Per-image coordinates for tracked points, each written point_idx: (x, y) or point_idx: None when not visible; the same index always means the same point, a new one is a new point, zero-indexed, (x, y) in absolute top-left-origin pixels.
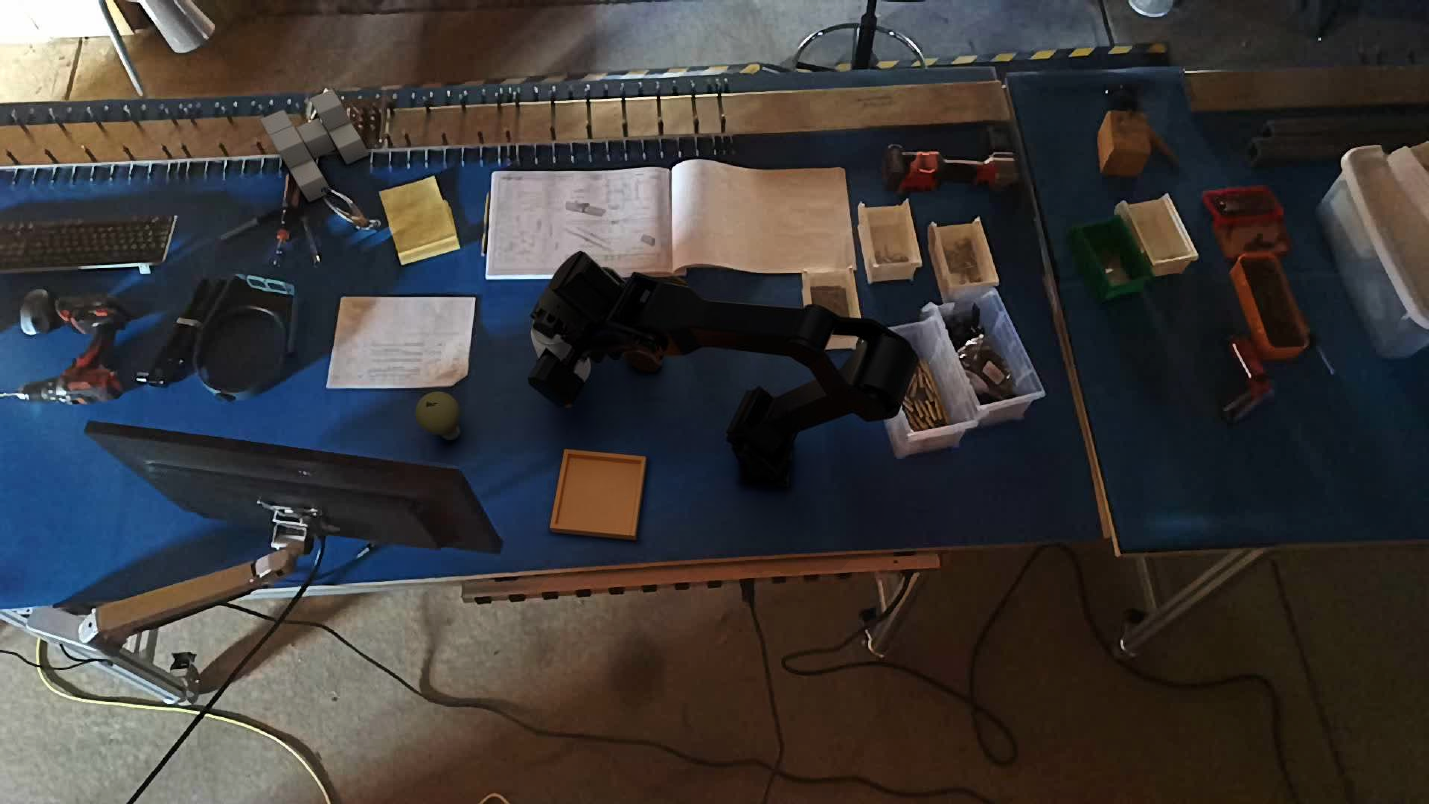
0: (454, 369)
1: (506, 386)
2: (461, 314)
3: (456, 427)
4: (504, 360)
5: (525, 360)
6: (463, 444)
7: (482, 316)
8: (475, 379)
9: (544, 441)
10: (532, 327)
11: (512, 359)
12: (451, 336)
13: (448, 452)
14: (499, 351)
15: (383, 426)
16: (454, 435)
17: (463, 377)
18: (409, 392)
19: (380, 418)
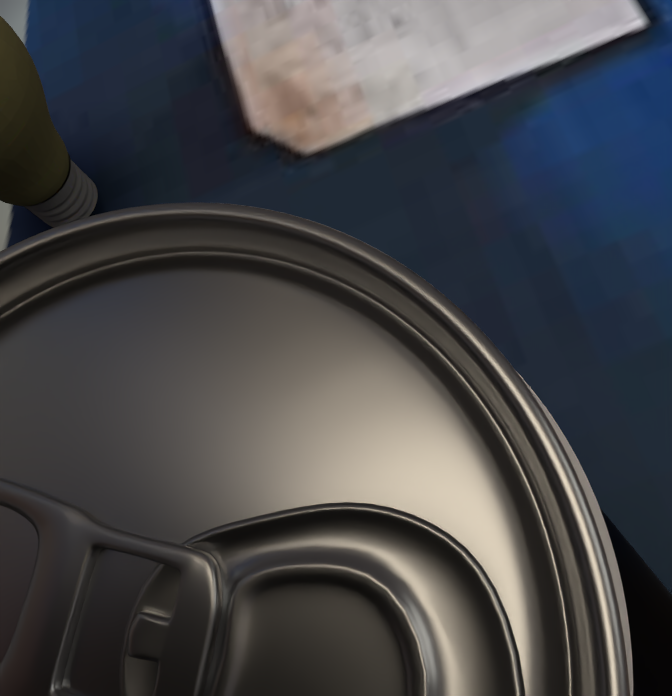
0: (316, 106)
1: None
2: (548, 19)
3: (17, 202)
4: (404, 246)
5: None
6: None
7: (571, 85)
8: (295, 186)
9: None
10: (23, 246)
11: (419, 272)
12: (442, 36)
13: (20, 230)
14: (438, 211)
15: (84, 28)
16: (39, 216)
17: (293, 146)
18: (202, 32)
19: (107, 9)
